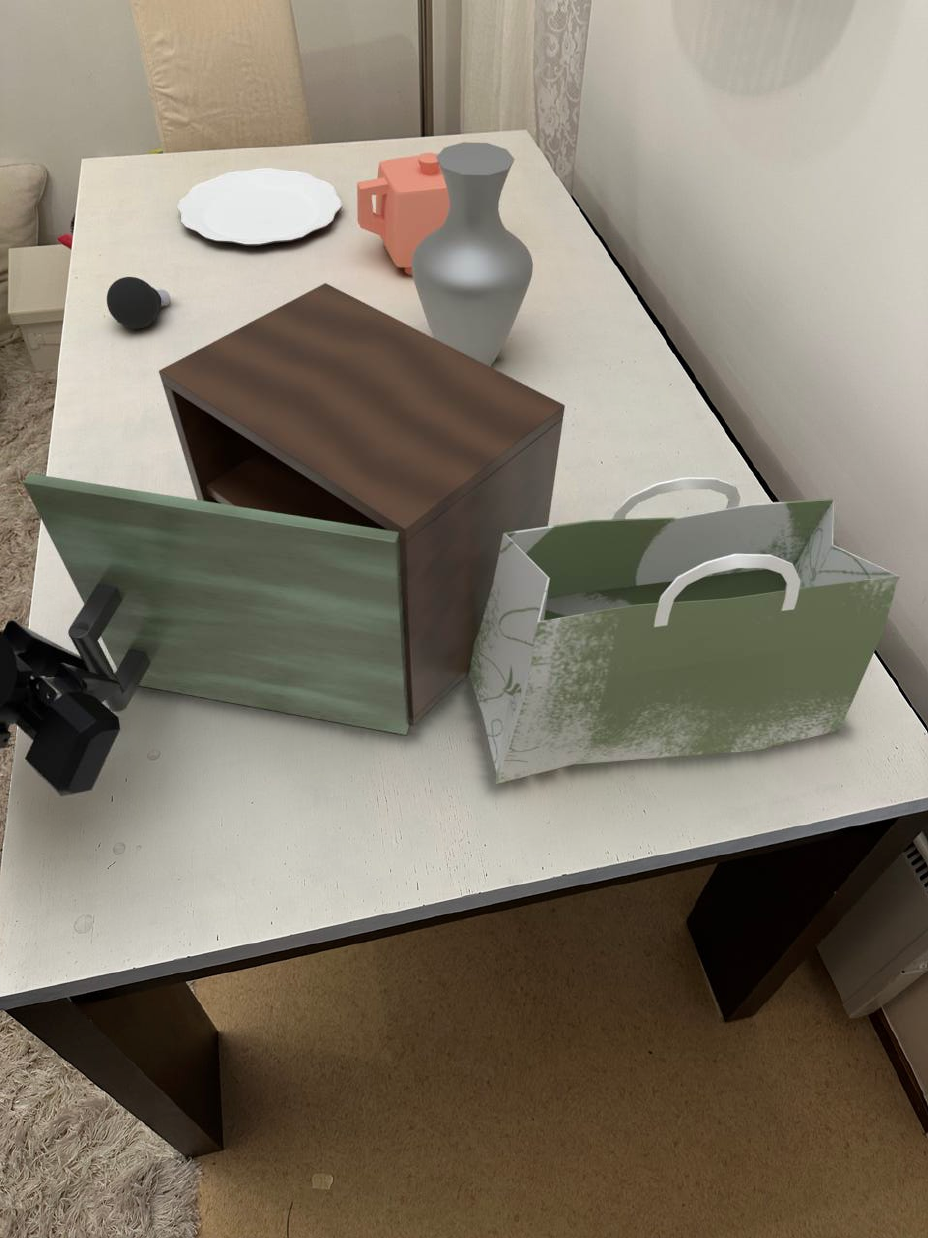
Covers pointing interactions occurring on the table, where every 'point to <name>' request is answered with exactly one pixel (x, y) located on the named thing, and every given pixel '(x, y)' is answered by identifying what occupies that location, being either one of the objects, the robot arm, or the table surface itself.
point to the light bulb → (135, 302)
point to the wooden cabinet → (375, 454)
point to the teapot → (404, 204)
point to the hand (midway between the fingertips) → (107, 680)
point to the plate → (259, 206)
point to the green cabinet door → (232, 602)
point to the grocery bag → (673, 633)
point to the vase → (472, 257)
